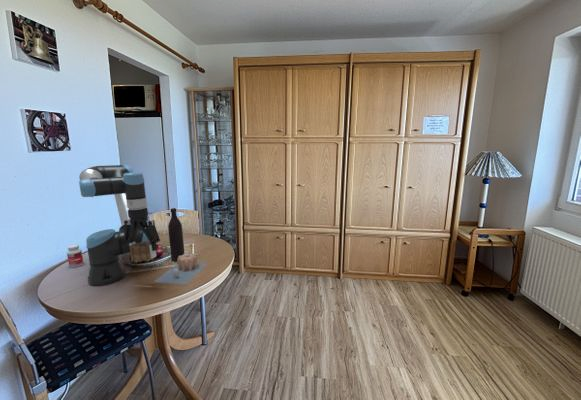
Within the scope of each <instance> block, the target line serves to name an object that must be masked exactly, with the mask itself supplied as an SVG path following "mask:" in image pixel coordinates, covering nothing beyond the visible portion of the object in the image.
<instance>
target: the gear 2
mask: <svg viewBox="0 0 581 400" xmlns="http://www.w3.org/2000/svg"><path fill="white" fill-rule="evenodd" d="M184 253H185V252H184ZM177 261H178V262H177V264H178V270H182V271H185V270H190V271H191V270H192V269H194V268H197V265H198V254H196V253H195V254H194V253H193V252H190V253H185V254H184V255H181V256H178V258H177Z"/></svg>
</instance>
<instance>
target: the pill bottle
mask: <svg viewBox="0 0 581 400" xmlns="http://www.w3.org/2000/svg"><path fill="white" fill-rule="evenodd" d="M82 251H83V250H82V249H81V248H80V245H79V244H72V245H69V246H67V252H66V255H67V256H66V257H67V261H68V266H69V267H70V268H77V267H81V266H83V265H84V258H83V252H82Z"/></svg>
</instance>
